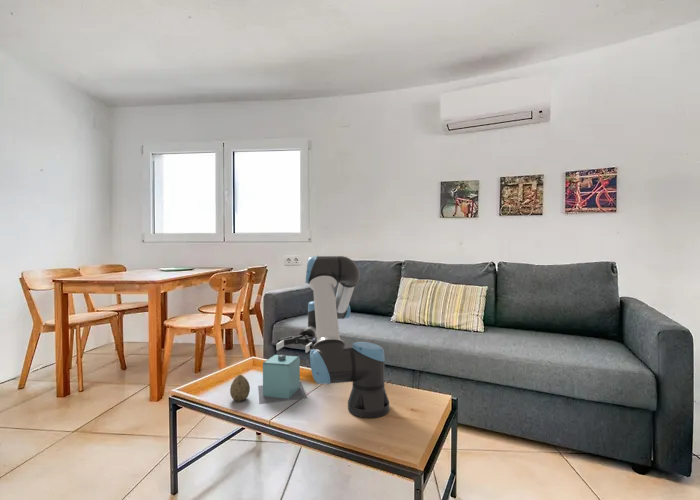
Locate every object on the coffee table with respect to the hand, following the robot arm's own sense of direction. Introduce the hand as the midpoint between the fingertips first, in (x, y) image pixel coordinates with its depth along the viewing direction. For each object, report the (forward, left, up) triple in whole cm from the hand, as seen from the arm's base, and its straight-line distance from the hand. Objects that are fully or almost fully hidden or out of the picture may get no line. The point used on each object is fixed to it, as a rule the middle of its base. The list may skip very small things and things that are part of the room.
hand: (291, 348), depth 148 cm
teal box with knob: (-9, +5, -15) cm, 18 cm away
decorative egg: (-12, +21, -15) cm, 29 cm away
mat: (-9, +5, -15) cm, 18 cm away
